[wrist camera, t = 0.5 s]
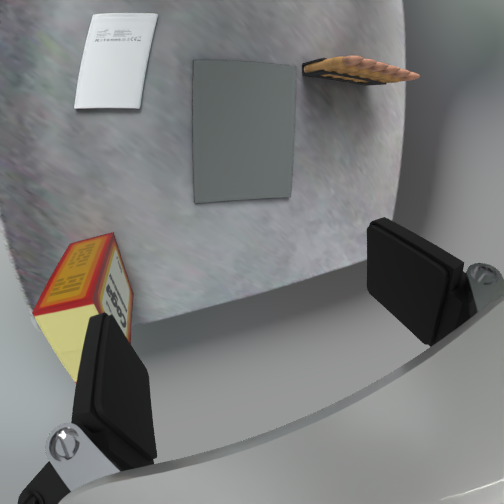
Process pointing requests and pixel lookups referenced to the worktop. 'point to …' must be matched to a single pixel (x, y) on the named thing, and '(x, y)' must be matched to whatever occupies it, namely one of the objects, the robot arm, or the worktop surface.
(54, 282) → the baking soda box
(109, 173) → the worktop surface
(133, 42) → the external hard drive
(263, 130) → the mat
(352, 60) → the ammunition clip
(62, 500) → the robot arm
